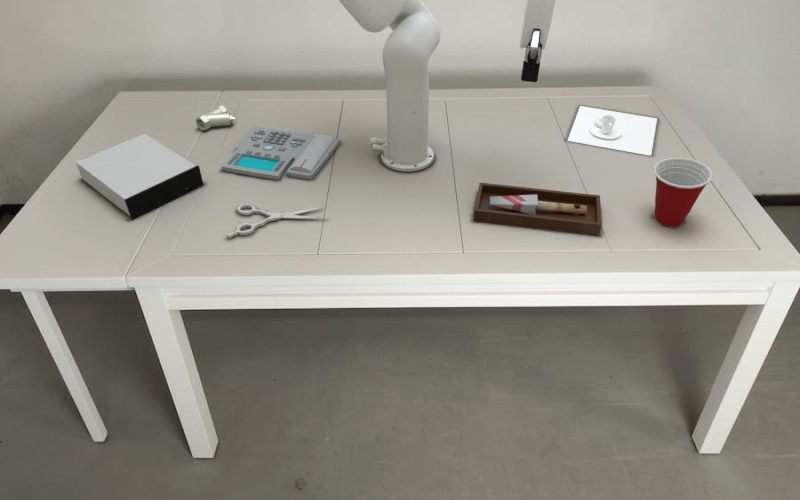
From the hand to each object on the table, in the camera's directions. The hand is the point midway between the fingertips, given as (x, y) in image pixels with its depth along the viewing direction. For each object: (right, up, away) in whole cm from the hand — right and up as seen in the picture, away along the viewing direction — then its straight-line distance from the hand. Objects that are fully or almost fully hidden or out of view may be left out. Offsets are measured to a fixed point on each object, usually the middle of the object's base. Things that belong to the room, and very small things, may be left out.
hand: (530, 70), depth 130 cm
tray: (+2, -29, +5) cm, 29 cm away
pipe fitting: (-74, -5, +35) cm, 82 cm away
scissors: (-52, -30, +4) cm, 60 cm away
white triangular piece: (+28, -6, +33) cm, 44 cm away
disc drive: (-85, -21, +15) cm, 89 cm away
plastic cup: (+29, -30, +4) cm, 42 cm away
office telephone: (-55, -14, +23) cm, 62 cm away
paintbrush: (+2, -28, +5) cm, 29 cm away
